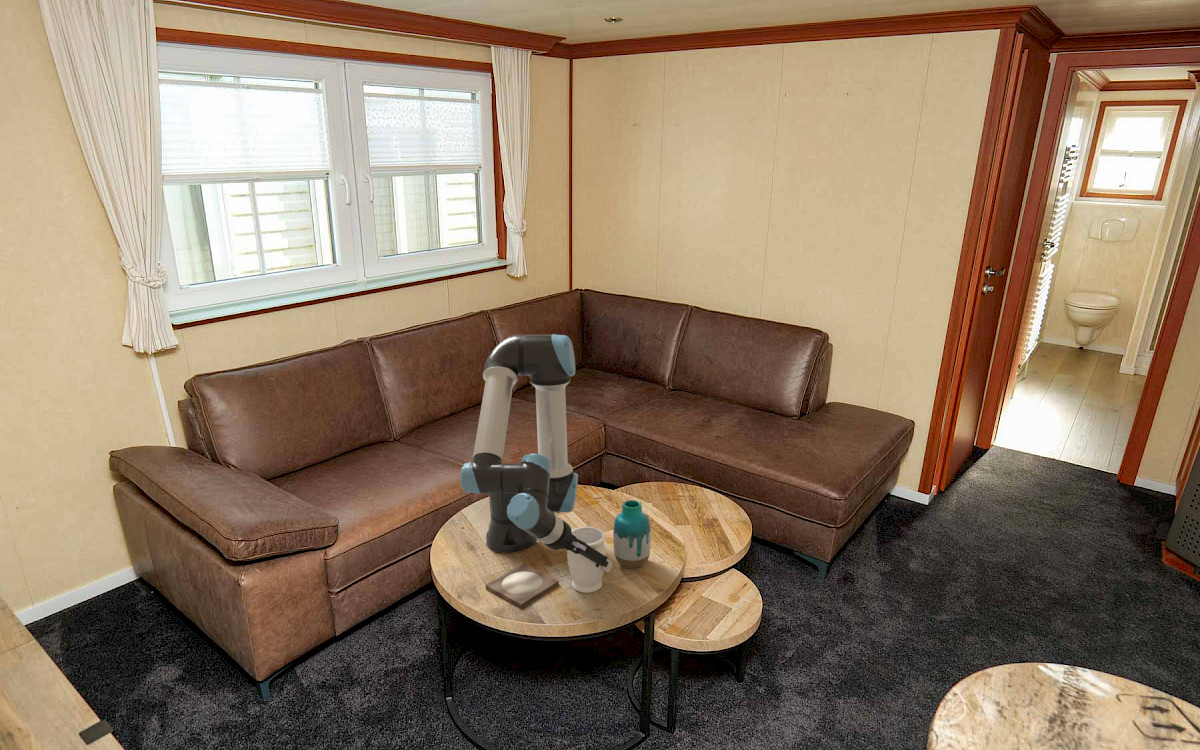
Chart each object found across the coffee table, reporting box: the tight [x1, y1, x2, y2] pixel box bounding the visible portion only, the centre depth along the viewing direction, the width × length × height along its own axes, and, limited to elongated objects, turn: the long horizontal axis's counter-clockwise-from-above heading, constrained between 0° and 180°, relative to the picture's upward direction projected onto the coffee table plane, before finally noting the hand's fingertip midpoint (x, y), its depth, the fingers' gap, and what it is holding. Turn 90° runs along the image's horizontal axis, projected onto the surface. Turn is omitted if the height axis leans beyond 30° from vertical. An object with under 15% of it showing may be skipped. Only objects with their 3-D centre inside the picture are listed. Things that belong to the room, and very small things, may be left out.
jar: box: [566, 526, 607, 594], centre depth 186 cm, size 11×10×15 cm
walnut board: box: [485, 563, 560, 609], centre depth 188 cm, size 14×14×1 cm
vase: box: [612, 499, 652, 569], centre depth 196 cm, size 11×11×19 cm
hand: (594, 560), depth 189 cm, fingers closed on jar, 10 cm apart
